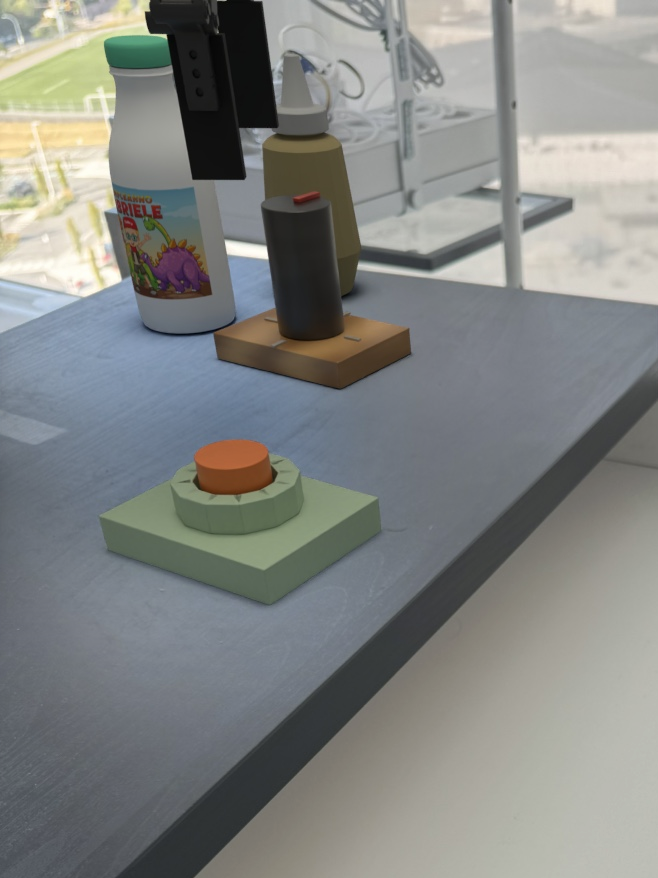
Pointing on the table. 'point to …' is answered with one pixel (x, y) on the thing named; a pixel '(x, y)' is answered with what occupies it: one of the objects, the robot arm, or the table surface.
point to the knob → (303, 265)
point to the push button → (233, 467)
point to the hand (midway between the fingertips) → (239, 151)
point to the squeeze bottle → (311, 164)
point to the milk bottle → (163, 197)
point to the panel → (314, 349)
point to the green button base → (244, 530)
